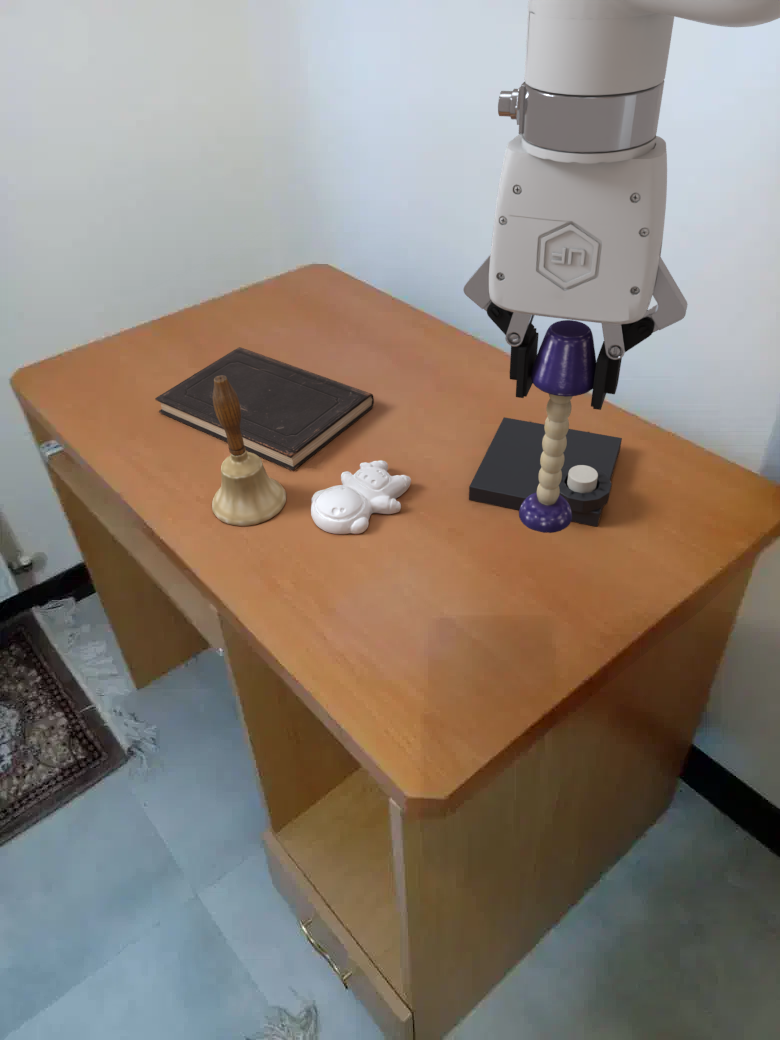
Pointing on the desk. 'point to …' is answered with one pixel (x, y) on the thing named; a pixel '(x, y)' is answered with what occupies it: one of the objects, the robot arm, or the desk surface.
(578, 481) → the button
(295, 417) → the hardcover book
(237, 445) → the hand bell
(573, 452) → the scale
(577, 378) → the toy lamp
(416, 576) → the desk surface
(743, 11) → the robot arm
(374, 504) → the white flat figure
